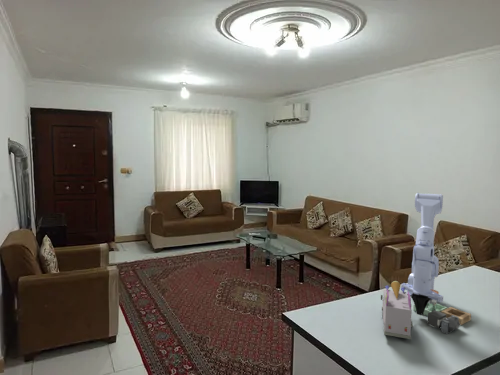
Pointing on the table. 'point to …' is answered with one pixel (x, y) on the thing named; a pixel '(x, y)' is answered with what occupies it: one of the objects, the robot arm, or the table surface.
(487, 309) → the table surface
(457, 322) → the trolley wheel
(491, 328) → the table surface
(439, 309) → the tray
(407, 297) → the toy vehicle
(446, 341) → the table surface
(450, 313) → the socket block
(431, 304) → the pin
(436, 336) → the table surface
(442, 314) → the block
